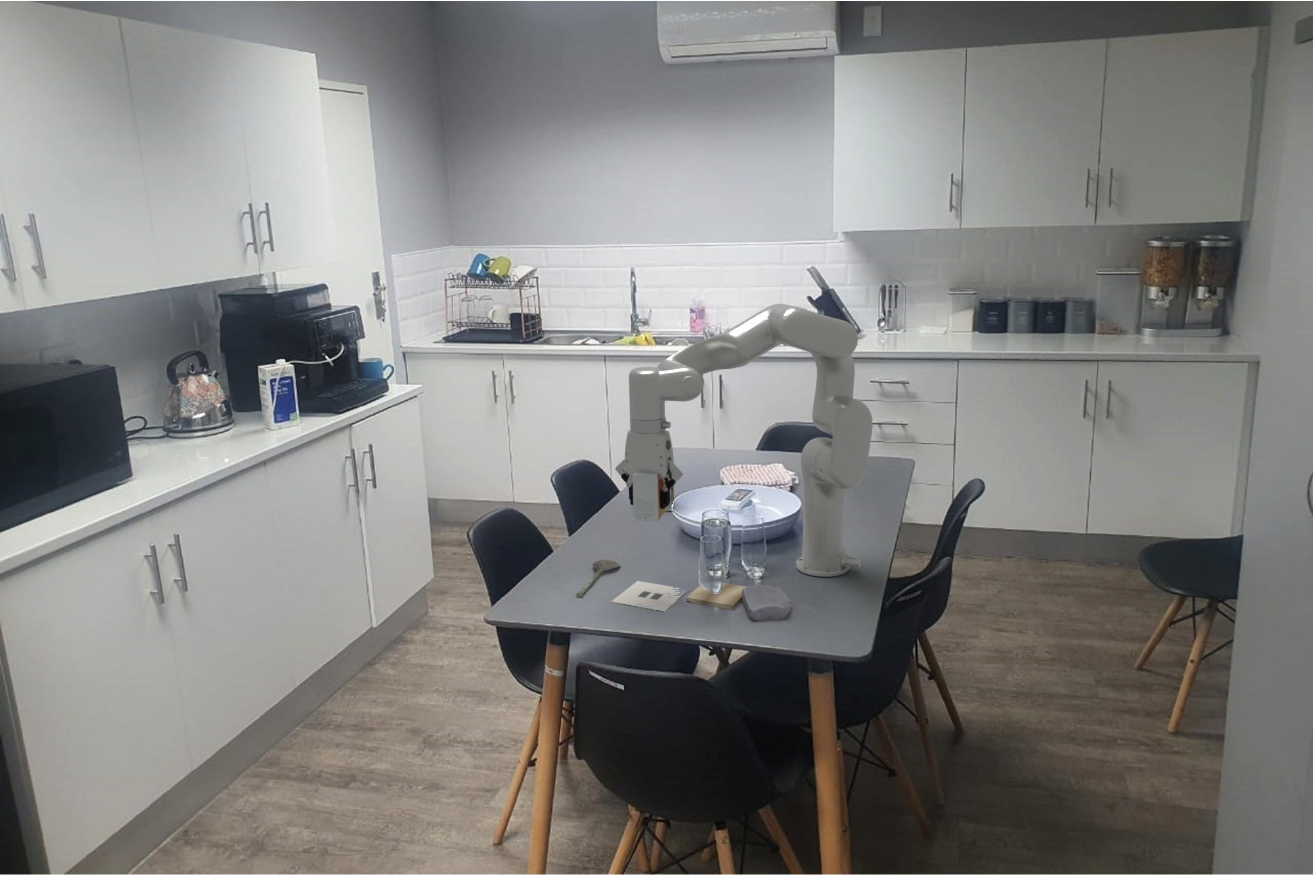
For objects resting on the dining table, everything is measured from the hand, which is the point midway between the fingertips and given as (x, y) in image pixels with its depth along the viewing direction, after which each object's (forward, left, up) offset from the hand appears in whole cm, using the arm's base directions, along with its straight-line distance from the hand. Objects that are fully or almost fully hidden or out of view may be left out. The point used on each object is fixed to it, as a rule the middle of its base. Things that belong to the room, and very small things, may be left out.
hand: (649, 504), depth 215 cm
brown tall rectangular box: (+26, -58, -22) cm, 67 cm away
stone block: (-26, -4, -22) cm, 34 cm away
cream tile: (0, 0, -21) cm, 21 cm away
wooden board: (-14, -6, -21) cm, 26 cm away
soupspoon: (+16, -4, -22) cm, 28 cm away
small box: (0, 0, -3) cm, 3 cm away
